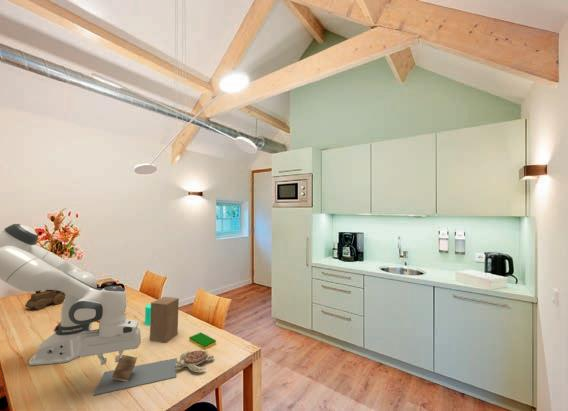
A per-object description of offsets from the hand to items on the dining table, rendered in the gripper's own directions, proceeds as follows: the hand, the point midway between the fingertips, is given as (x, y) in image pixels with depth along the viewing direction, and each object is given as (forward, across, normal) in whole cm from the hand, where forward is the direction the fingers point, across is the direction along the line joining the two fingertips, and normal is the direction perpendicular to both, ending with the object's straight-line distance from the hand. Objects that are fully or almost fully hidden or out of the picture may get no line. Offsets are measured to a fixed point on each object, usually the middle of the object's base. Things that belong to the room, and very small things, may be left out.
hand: (110, 362), depth 97 cm
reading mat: (+7, +10, 0) cm, 13 cm away
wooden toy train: (+8, -64, +110) cm, 127 cm away
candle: (+8, +8, +53) cm, 54 cm away
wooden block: (+8, +17, +31) cm, 36 cm away
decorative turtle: (+7, +32, 0) cm, 32 cm away
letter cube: (+6, +4, 0) cm, 7 cm away
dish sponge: (+8, +36, +18) cm, 42 cm away
